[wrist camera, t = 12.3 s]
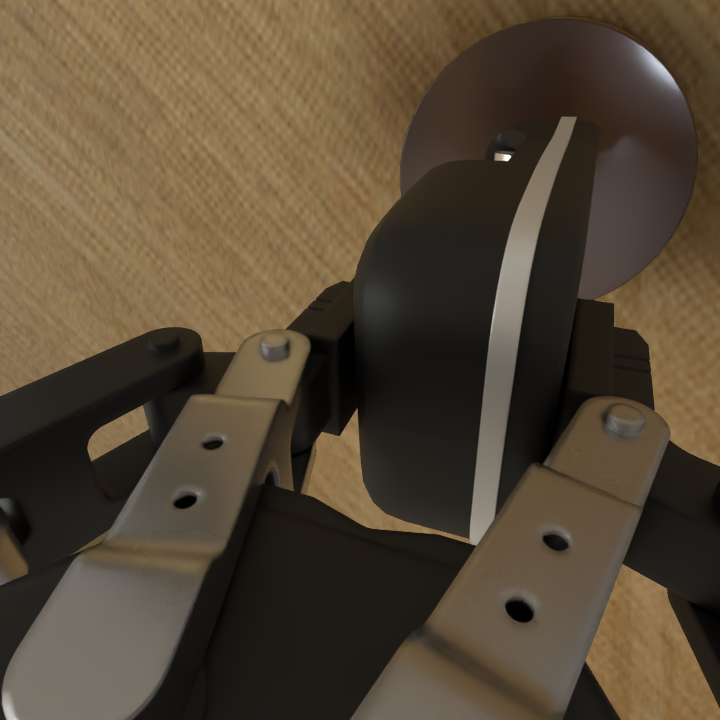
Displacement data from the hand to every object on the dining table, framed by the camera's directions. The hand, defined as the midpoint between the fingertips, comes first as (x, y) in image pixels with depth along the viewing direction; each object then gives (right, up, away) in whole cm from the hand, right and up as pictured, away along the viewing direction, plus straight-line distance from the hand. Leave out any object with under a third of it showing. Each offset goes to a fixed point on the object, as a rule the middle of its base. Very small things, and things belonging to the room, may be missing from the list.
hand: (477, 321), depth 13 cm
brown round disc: (+5, +7, +11) cm, 15 cm away
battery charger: (+3, +4, +6) cm, 7 cm away
